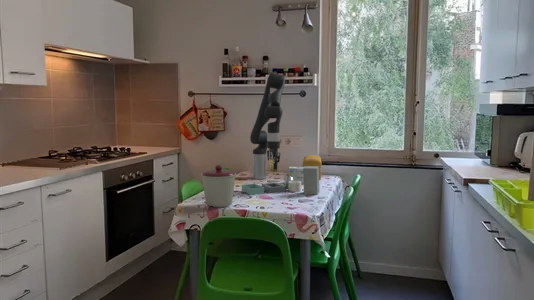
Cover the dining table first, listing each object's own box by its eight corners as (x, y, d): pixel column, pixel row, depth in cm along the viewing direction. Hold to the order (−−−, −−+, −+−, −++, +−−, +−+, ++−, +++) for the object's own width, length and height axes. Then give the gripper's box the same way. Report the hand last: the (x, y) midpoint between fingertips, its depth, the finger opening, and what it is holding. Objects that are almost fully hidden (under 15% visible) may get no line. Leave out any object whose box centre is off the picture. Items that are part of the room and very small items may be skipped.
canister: (240, 202, 227) (240, 163, 224) (230, 210, 209) (230, 168, 207) (208, 200, 231) (208, 161, 228) (195, 208, 213) (195, 166, 211)
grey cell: (283, 187, 264) (283, 175, 263) (290, 187, 266) (290, 175, 265) (287, 189, 260) (287, 177, 259) (294, 188, 262) (294, 176, 261)
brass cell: (275, 170, 258) (275, 157, 257) (278, 171, 253) (278, 158, 252) (268, 170, 256) (268, 158, 255) (271, 171, 251) (271, 159, 250)
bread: (321, 180, 290) (321, 158, 288) (302, 180, 291) (302, 158, 290) (321, 174, 314) (321, 154, 312) (303, 174, 315) (303, 153, 314)
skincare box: (319, 192, 251) (320, 166, 249) (317, 195, 244) (317, 168, 242) (305, 191, 253) (306, 165, 251) (302, 194, 247) (303, 167, 245)
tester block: (261, 189, 259) (261, 182, 259) (276, 188, 263) (276, 181, 263) (269, 193, 248) (269, 186, 248) (285, 191, 253) (285, 185, 252)
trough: (241, 190, 256) (241, 184, 255) (254, 189, 259) (254, 183, 259) (250, 195, 244) (250, 189, 243) (263, 193, 247) (263, 187, 247)
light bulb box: (305, 182, 281) (305, 166, 280) (305, 184, 275) (305, 168, 273) (289, 182, 282) (289, 166, 281) (288, 184, 276) (288, 167, 274)
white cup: (286, 189, 258) (286, 181, 258) (297, 188, 261) (297, 180, 261) (291, 192, 251) (291, 183, 251) (303, 191, 255) (303, 182, 254)
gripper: (284, 141, 248) (284, 170, 250) (274, 139, 260) (273, 166, 262) (273, 141, 244) (272, 170, 246) (262, 139, 257) (262, 167, 259)
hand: (273, 168), depth 254 cm, fingers closed on brass cell, 4 cm apart
